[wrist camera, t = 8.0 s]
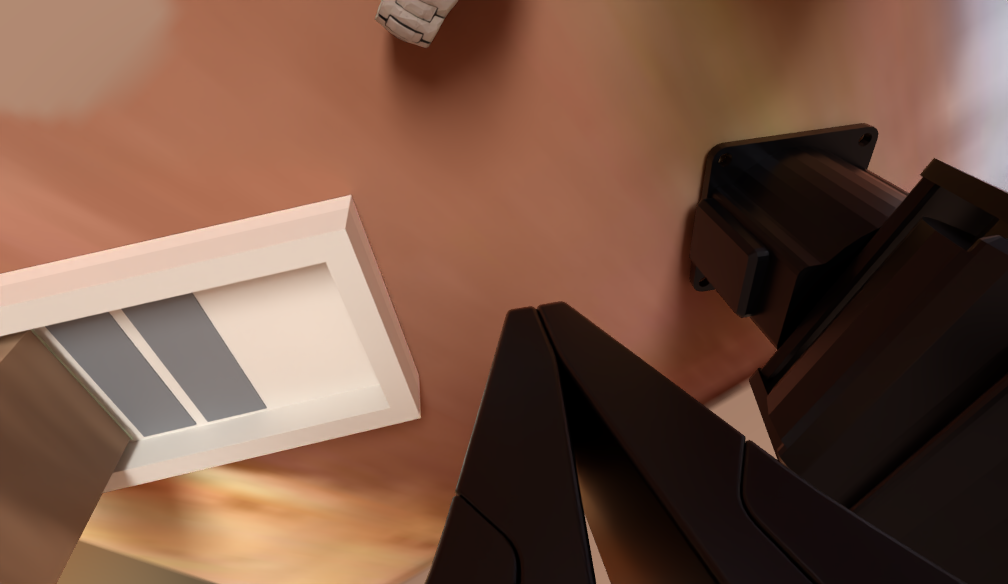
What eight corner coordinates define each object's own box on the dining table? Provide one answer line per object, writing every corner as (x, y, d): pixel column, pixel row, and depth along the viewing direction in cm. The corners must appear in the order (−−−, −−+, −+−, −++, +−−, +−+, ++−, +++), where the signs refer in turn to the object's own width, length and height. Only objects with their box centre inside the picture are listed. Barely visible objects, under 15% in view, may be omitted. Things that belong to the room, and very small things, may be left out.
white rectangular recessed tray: (351, 194, 19) (345, 228, 17) (419, 376, 24) (420, 418, 22) (-133, 303, 19) (-198, 351, 17) (46, 463, 24) (14, 514, 22)
